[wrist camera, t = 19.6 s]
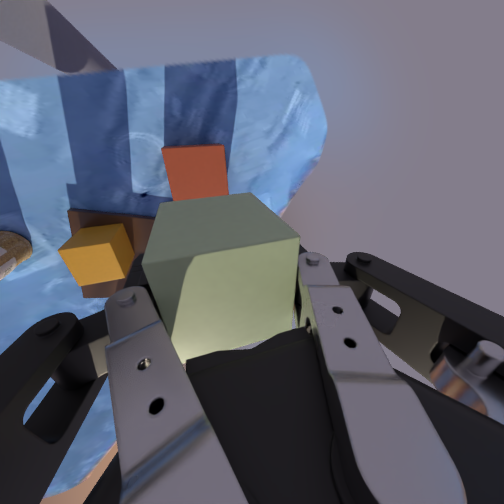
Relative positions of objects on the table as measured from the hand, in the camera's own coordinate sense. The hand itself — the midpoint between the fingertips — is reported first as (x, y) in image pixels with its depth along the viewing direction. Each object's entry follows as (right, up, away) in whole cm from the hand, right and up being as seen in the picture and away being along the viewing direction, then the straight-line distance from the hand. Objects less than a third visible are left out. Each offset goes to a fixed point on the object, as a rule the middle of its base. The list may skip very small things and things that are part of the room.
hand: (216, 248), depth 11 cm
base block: (-6, +11, +17) cm, 21 cm away
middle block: (0, +1, +1) cm, 1 cm away
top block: (-18, +1, +17) cm, 25 cm away
